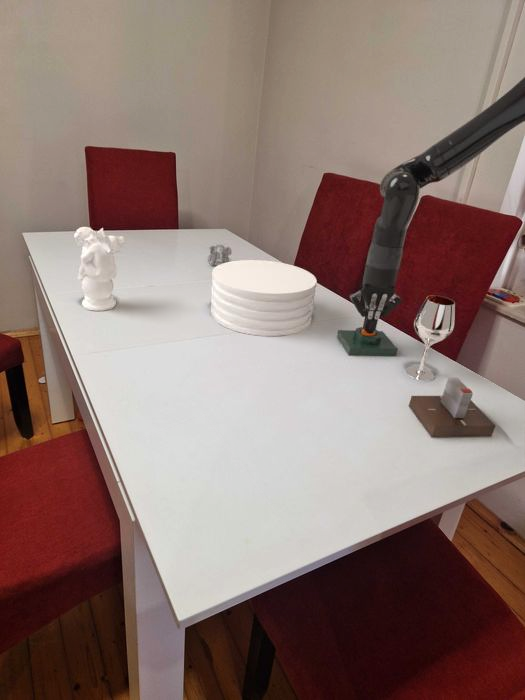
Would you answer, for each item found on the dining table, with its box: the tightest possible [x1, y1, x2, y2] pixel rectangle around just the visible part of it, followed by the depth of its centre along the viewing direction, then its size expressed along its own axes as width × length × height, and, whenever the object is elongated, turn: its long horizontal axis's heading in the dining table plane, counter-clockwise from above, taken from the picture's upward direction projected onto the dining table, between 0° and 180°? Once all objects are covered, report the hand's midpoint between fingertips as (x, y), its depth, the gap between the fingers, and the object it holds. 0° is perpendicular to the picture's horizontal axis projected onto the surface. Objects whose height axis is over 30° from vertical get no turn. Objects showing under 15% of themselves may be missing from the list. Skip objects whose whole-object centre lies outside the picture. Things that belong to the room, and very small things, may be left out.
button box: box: [336, 326, 398, 357], centre depth 112 cm, size 12×10×4 cm
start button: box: [361, 329, 376, 336], centre depth 112 cm, size 4×4×2 cm
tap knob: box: [441, 377, 474, 418], centre depth 85 cm, size 6×2×6 cm, turn 7°
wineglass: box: [405, 294, 456, 382], centre depth 99 cm, size 8×8×18 cm
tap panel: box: [408, 395, 497, 438], centre depth 87 cm, size 12×10×3 cm
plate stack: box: [210, 259, 318, 337], centre depth 124 cm, size 28×28×12 cm
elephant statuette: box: [207, 244, 233, 266], centre depth 162 cm, size 9×12×8 cm
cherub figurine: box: [73, 226, 126, 312], centre depth 118 cm, size 12×12×22 cm
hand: (368, 331), depth 112 cm, fingers closed
